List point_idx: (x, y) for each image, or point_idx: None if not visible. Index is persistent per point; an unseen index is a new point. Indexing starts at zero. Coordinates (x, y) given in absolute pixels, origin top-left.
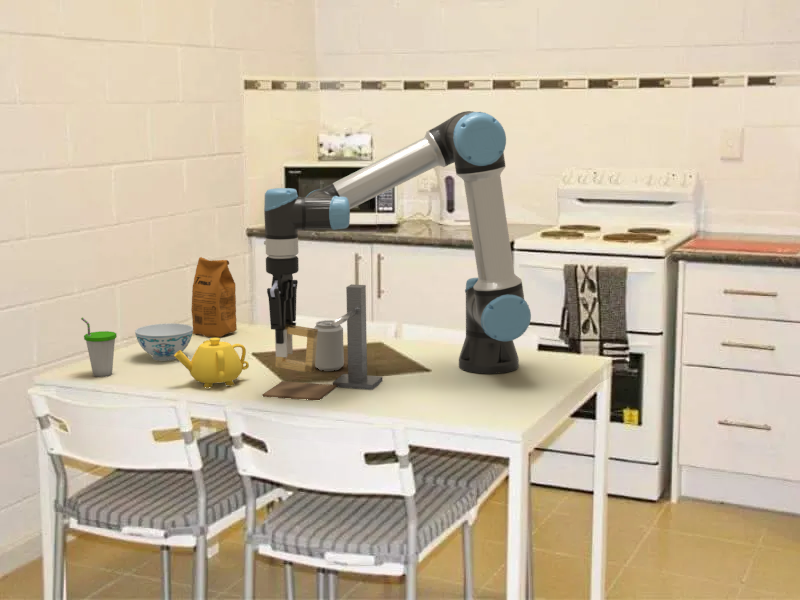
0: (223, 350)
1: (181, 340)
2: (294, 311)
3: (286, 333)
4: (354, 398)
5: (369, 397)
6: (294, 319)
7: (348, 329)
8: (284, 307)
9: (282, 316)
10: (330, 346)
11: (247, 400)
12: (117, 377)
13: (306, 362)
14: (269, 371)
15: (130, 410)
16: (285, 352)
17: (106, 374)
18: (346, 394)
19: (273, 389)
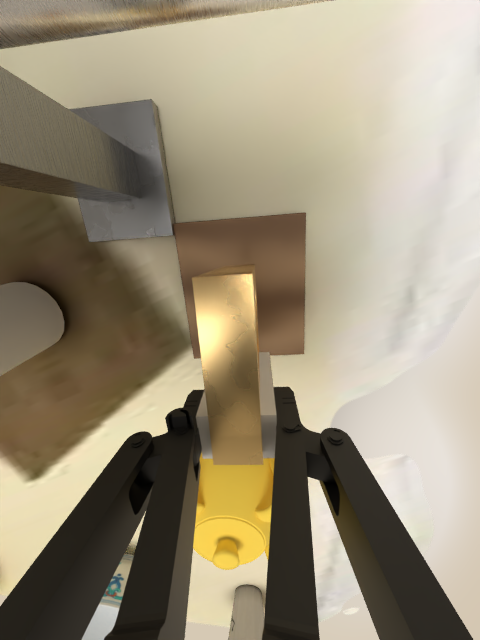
0: (250, 513)
1: (121, 589)
2: (121, 480)
3: (267, 402)
4: (255, 123)
5: (232, 77)
6: (144, 440)
7: (8, 156)
8: (299, 554)
9: (307, 490)
10: (2, 317)
11: (334, 367)
12: (254, 575)
13: (255, 285)
14: (123, 411)
15: (429, 504)
16: (269, 362)
17: (255, 590)
18: (225, 166)
19: (260, 348)
